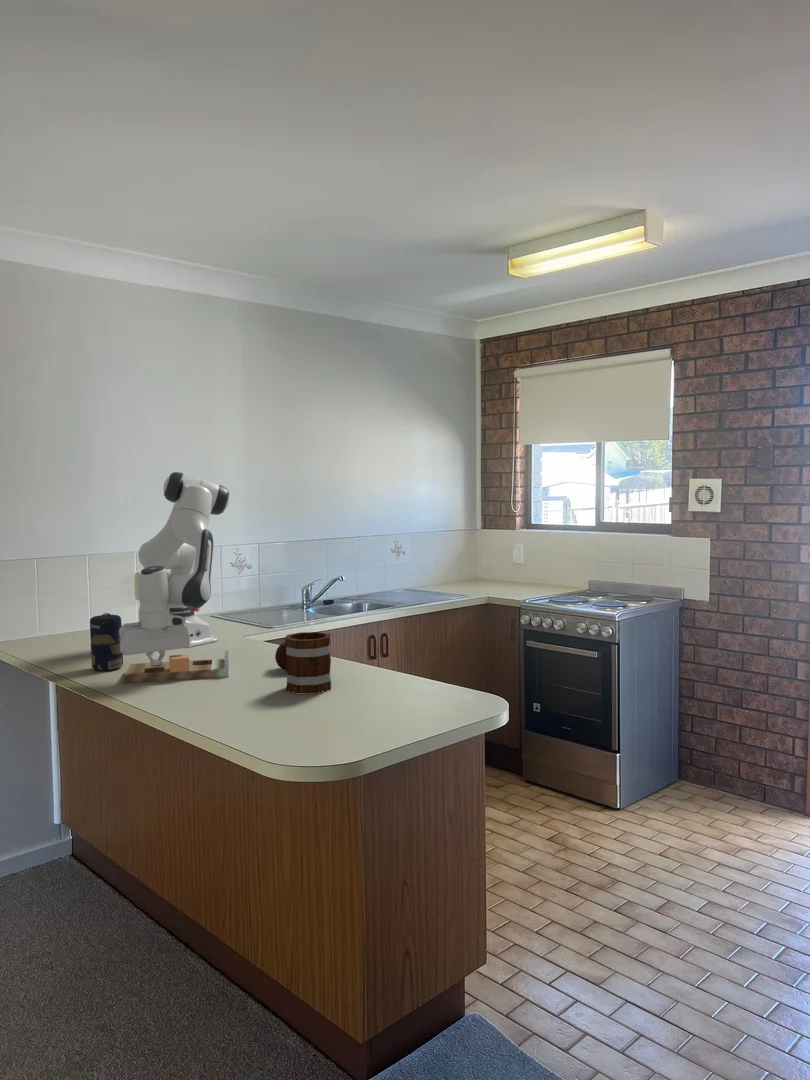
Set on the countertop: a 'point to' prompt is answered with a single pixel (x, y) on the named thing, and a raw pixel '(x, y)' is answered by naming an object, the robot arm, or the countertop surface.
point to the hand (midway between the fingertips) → (156, 665)
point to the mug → (308, 662)
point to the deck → (162, 673)
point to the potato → (281, 656)
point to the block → (179, 663)
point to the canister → (105, 642)
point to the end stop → (226, 664)
